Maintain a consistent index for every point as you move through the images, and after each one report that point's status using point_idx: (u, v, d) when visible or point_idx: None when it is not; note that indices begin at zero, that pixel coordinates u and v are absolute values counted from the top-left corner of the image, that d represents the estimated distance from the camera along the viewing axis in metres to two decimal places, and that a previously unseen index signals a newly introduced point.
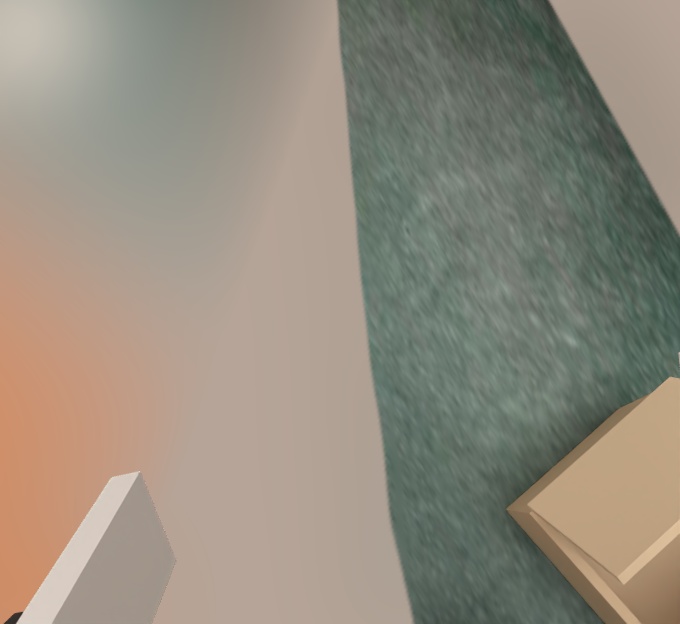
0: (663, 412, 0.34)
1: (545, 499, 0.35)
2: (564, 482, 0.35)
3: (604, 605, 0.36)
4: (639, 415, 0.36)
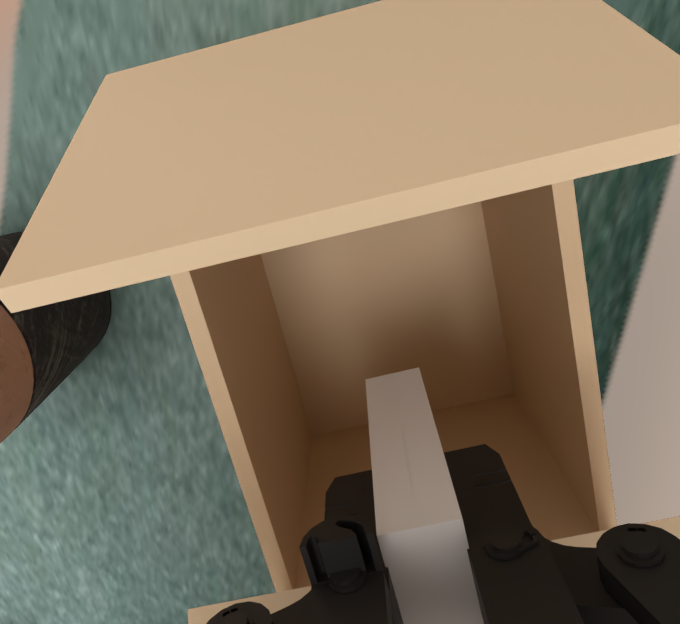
0: (459, 11, 0.14)
1: (134, 78, 0.16)
2: (187, 64, 0.15)
3: None
4: (418, 2, 0.15)
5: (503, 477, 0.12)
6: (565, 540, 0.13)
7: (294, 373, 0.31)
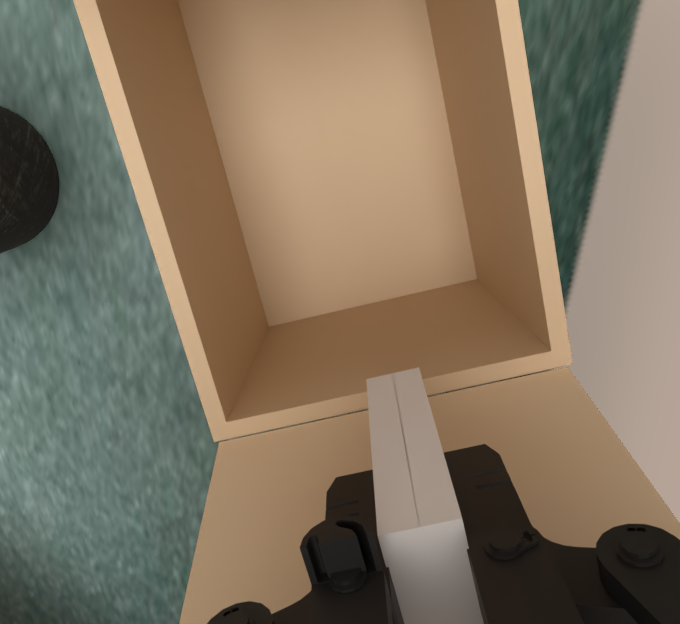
0: None
1: None
2: None
3: None
4: None
5: (503, 477, 0.12)
6: None
7: (248, 256, 0.30)
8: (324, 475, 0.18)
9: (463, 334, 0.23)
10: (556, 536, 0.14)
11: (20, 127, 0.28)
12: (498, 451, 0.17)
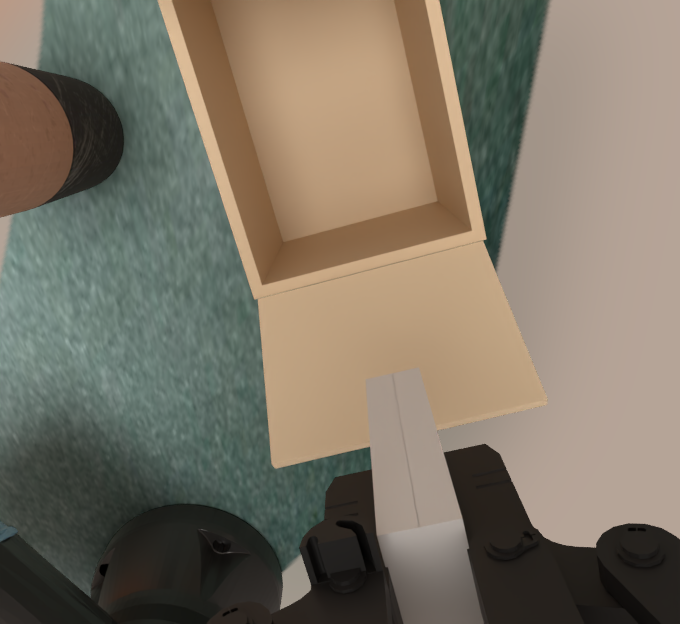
0: None
1: None
2: None
3: None
4: None
5: (503, 477, 0.12)
6: (473, 417, 0.25)
7: (266, 188, 0.41)
8: (332, 323, 0.29)
9: (420, 229, 0.34)
10: (465, 360, 0.26)
11: (97, 95, 0.38)
12: (437, 306, 0.28)
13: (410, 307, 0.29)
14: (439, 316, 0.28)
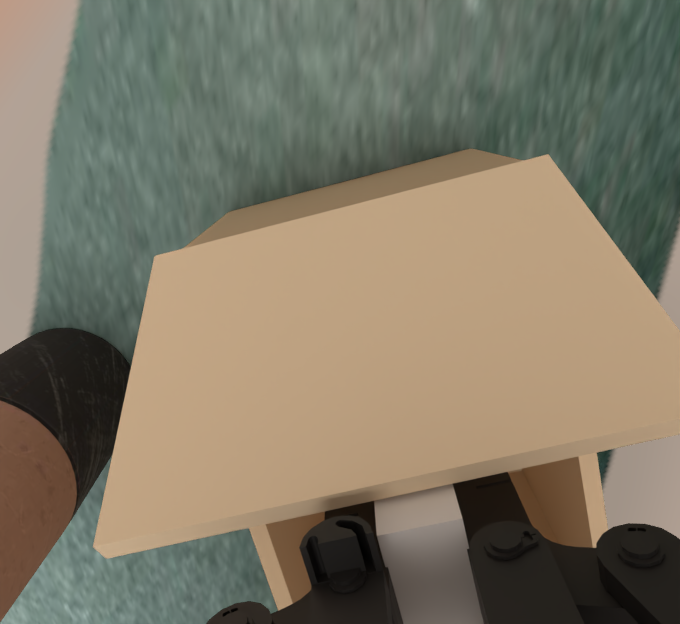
0: (478, 221, 0.16)
1: (182, 265, 0.17)
2: (231, 253, 0.17)
3: None
4: (438, 200, 0.17)
5: (503, 477, 0.12)
6: None
7: None
8: None
9: None
10: None
11: (107, 360, 0.30)
12: None
13: None
14: None
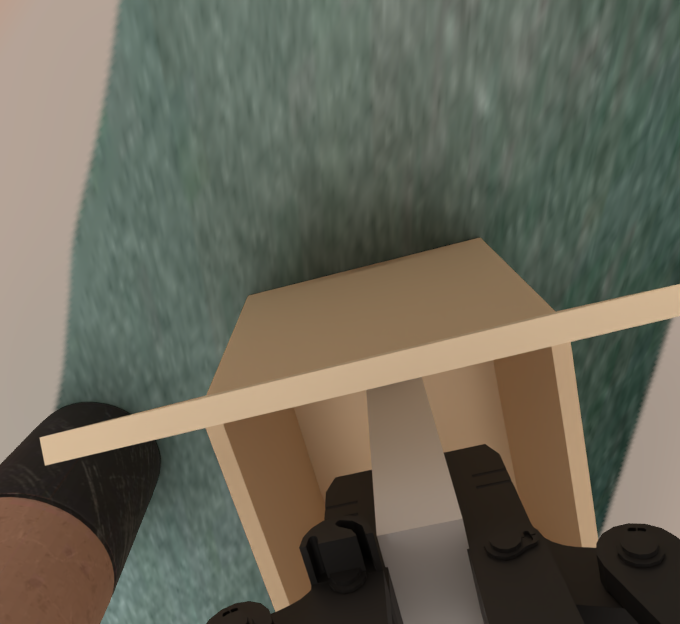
0: None
1: None
2: None
3: None
4: None
5: (503, 477, 0.12)
6: None
7: None
8: None
9: None
10: None
11: None
12: None
13: None
14: None
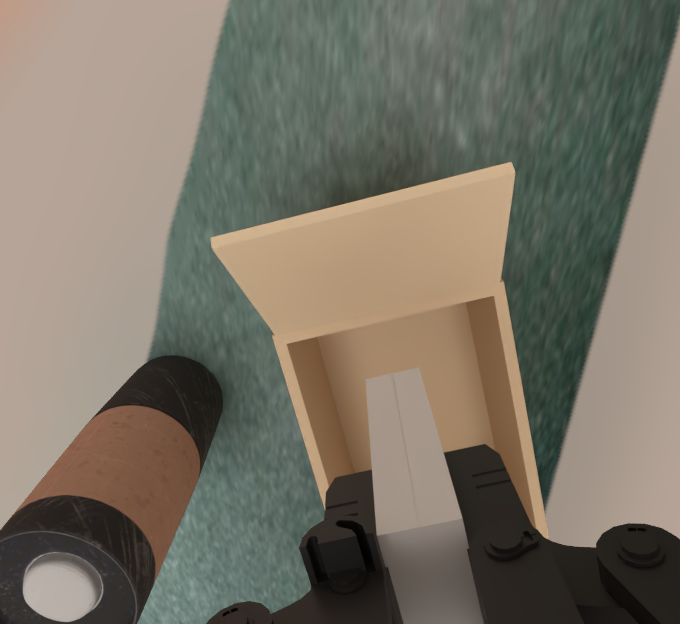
0: None
1: None
2: None
3: None
4: None
5: (503, 477, 0.12)
6: None
7: (347, 447, 0.46)
8: None
9: None
10: None
11: (205, 379, 0.44)
12: None
13: None
14: None
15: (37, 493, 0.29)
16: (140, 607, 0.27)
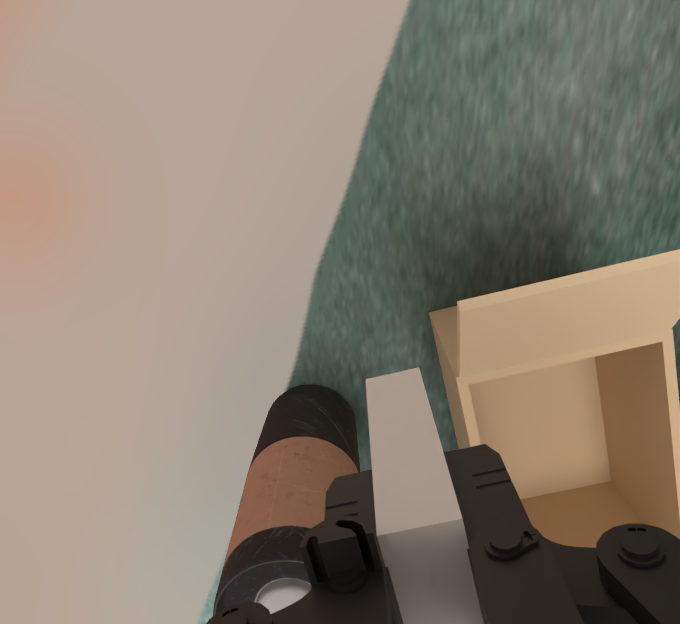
0: None
1: None
2: None
3: None
4: None
5: (503, 477, 0.12)
6: None
7: None
8: None
9: None
10: None
11: (345, 407, 0.46)
12: None
13: None
14: None
15: (258, 523, 0.32)
16: None
